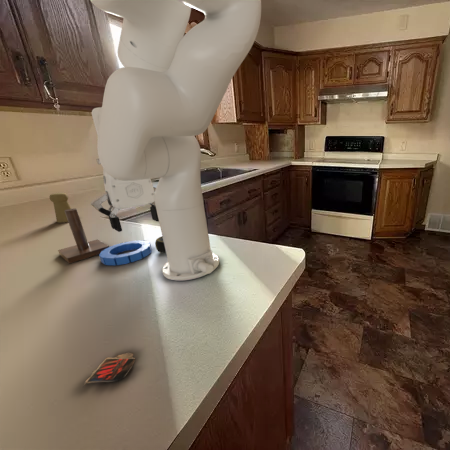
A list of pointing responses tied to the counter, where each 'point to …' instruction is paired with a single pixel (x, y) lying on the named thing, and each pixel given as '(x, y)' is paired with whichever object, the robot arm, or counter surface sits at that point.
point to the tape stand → (80, 241)
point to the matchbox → (112, 369)
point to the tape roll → (111, 258)
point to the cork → (60, 206)
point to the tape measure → (160, 245)
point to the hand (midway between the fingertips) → (138, 225)
